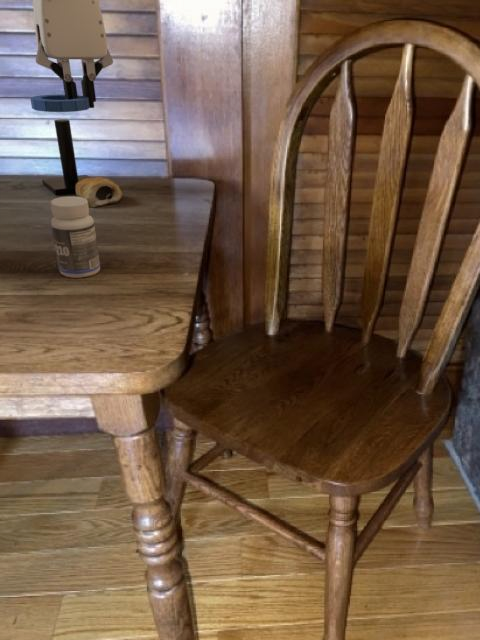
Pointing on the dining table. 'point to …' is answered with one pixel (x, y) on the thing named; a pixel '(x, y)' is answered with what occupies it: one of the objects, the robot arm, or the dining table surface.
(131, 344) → the dining table surface
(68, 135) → the black upright rod
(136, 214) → the dining table surface
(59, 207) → the pill bottle
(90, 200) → the pastry
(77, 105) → the ring
